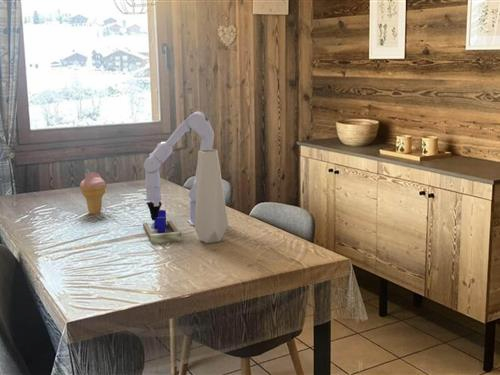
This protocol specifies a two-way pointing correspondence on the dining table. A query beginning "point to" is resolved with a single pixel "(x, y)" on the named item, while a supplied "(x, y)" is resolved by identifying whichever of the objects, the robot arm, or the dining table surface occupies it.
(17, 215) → the dining table surface
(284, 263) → the dining table surface
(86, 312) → the dining table surface
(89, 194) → the ice cream cone
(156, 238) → the guide
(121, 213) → the dining table surface
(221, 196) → the vase
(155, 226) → the cable clip
